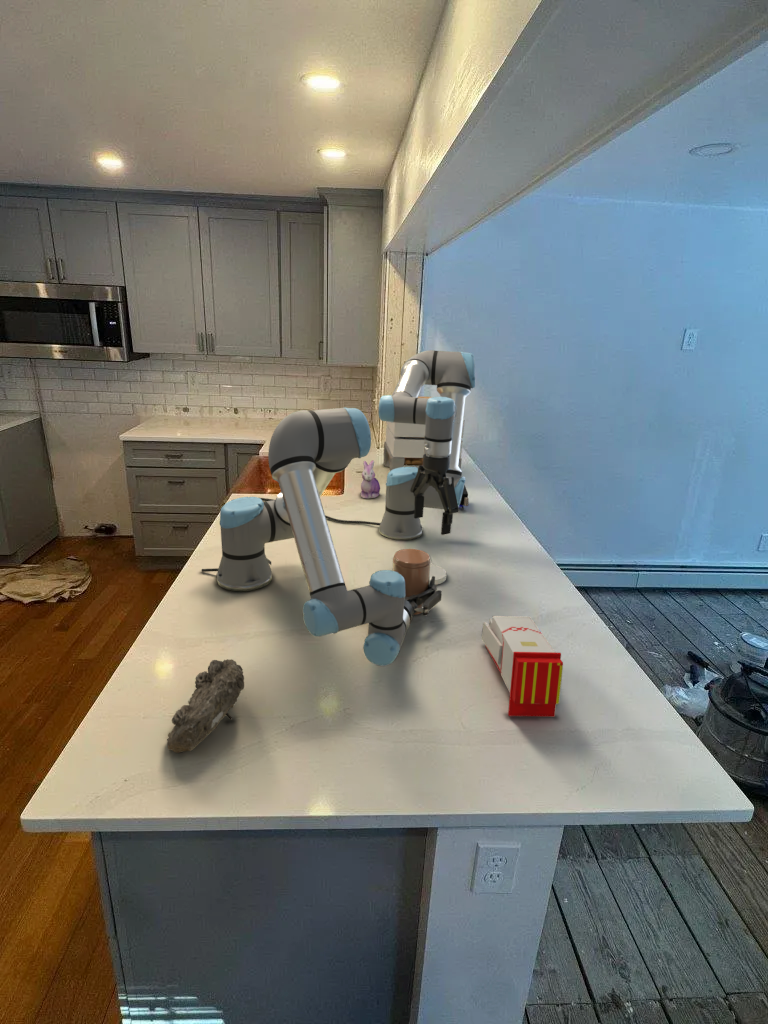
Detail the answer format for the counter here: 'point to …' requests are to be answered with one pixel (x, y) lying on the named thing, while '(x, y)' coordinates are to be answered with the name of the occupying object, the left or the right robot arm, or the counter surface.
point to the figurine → (369, 482)
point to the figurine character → (464, 498)
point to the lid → (437, 574)
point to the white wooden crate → (407, 444)
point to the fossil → (206, 705)
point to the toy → (525, 665)
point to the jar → (413, 570)
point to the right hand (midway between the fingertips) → (431, 525)
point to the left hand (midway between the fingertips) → (413, 577)
